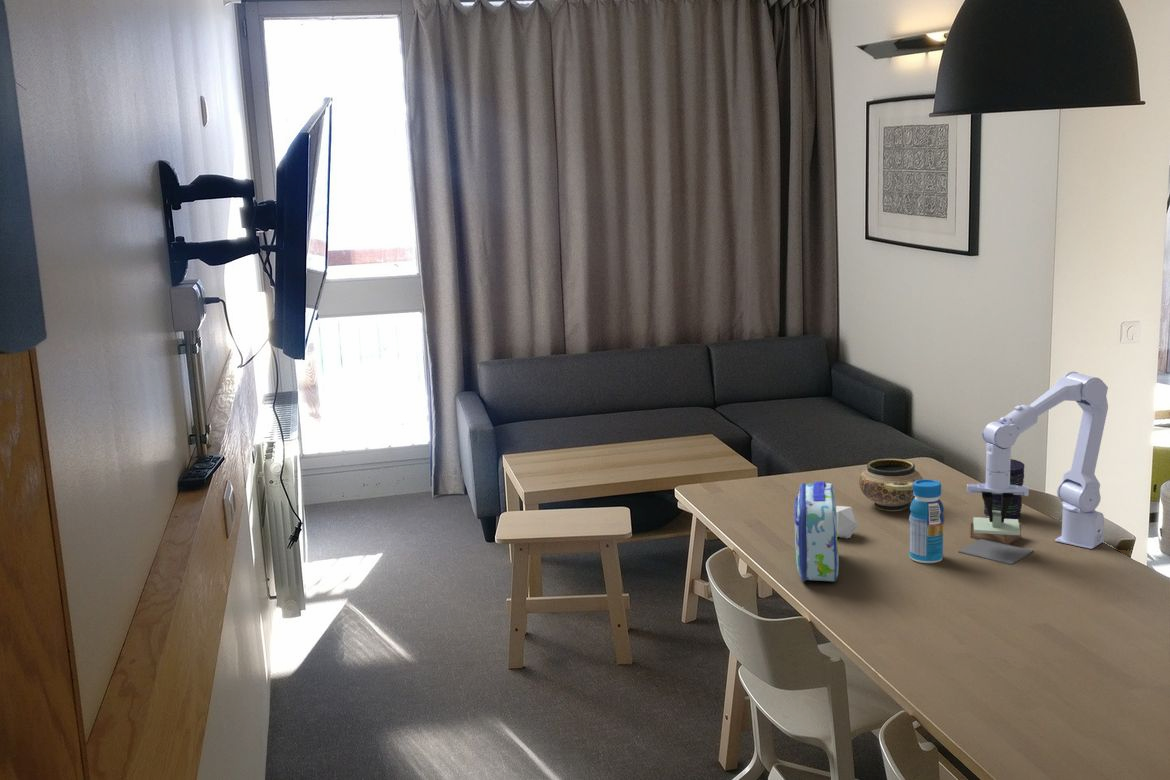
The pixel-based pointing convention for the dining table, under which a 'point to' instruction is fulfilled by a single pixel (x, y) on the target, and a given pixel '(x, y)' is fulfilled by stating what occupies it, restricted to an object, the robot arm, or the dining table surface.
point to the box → (995, 535)
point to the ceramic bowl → (889, 483)
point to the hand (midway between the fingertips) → (996, 521)
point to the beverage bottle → (926, 522)
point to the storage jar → (1016, 503)
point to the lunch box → (816, 532)
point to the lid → (996, 525)
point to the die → (845, 521)
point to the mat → (996, 551)
